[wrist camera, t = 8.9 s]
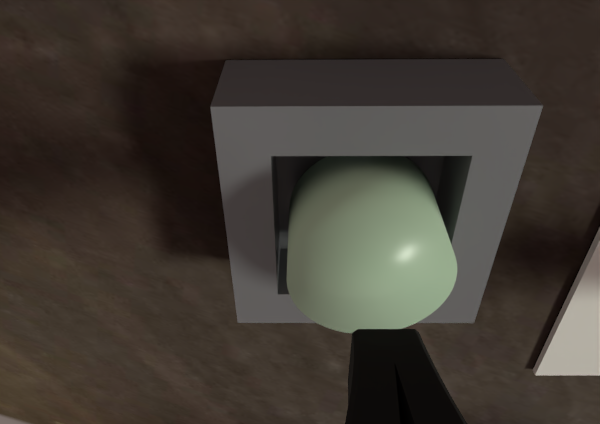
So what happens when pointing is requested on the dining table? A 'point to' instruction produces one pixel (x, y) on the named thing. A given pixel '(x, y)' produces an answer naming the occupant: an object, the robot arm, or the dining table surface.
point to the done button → (367, 244)
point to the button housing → (367, 142)
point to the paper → (576, 325)
